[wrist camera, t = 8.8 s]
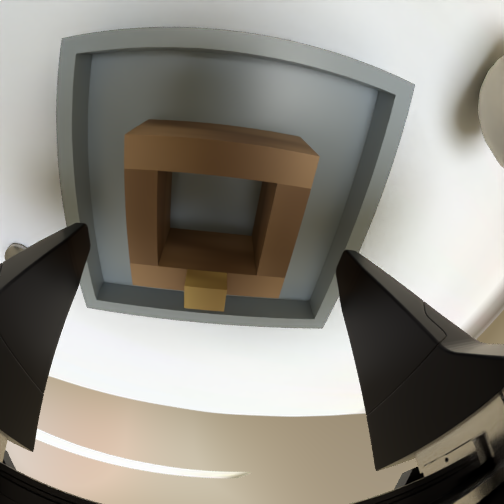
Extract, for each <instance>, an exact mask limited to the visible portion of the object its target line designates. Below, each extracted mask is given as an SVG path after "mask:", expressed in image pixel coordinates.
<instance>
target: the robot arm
mask: <svg viewBox="0 0 504 504" xmlns="http://www.w3.org/2000/svg"><path fill="white" fill-rule="evenodd" d="M90 248H91V243H90V237H89V231H88V226H87V224H86V223H74V224H72V225H70V226H68V227H66V228H64V229H62V230H60V231H58V232H56V233H54V234H52V235H50V236H48V237H47V238H45V239H43V240H41V241H39V242H37V243H35V244H34V245H32V246H30V247H28V248H26V249H25V250H23V251H21V252H19V253H18V254H16V255H14V256H12V257H11V258H9V259H7V260H6V261H4V262H3V263H1V264H0V504H101V503H98V502H94V501H91V500H88V499H84V498H81V497H78V496H75V495H72V494H70V493H67V492H64V491H62V490H59V489H56V488H54V487H51V486H49V485H47V484H44V483H42V482H40V481H37V480H35V479H33V478H31V477H29V476H27V475H25V474H23V473H21V472H19V471H17V470H16V469H15V467H14V465H13V463H12V461H11V459H10V457H9V454H8V452H7V451H6V450H5V448H6V444H7V440H9V441H11V442H13V443H14V444H17V445H19V446H21V447H23V448H25V449H27V450H29V451H32V452H33V450H34V444H35V438H36V431H37V425H38V420H39V415H40V410H41V404H42V400H43V396H44V394H43V393H44V390H45V387H46V382H47V378H48V375H49V371H50V367H51V364H52V360H53V357H54V354H55V350H56V347H57V344H58V341H59V338H60V335H61V332H62V329H63V326H64V323H65V320H66V317H67V315H68V312H69V309H70V307H71V304H72V302H73V299H74V296H75V294H76V291H77V289H78V286H79V283H80V280H81V277H82V274H83V270H84V267H85V264H86V261H87V258H88V255H89V252H90ZM336 279H337V284H338V290H339V296H340V303H341V308H342V312H343V316H344V320H345V324H346V328H347V331H348V335H349V339H350V343H351V347H352V351H353V356H354V360H355V364H356V368H357V373H358V377H359V382H360V386H361V391H362V396H363V401H364V406H365V411H366V415H367V422H368V427H369V433H370V439H371V445H372V451H373V457H374V464H375V469H376V471H379V470H382V469H385V468H388V467H391V466H394V465H397V464H400V463H403V462H405V461H408V460H411V459H414V458H416V461H417V465H418V467H416V468H414V469H411V470H409V471H407V472H404V473H403V474H402V475H401V477H400V479H399V481H398V483H397V485H396V487H395V489H394V490H392V491H389V492H386V493H383V494H380V495H377V496H374V497H371V498H368V499H365V500H361V501H358V502H354V503H351V504H504V344H486V343H482V342H479V341H477V340H476V339H474V338H472V337H471V336H470V335H468V334H467V333H466V332H464V331H463V330H462V329H460V328H459V327H457V326H456V325H455V324H453V323H452V322H451V321H449V320H448V319H447V318H445V317H444V316H442V315H441V314H440V313H438V312H437V311H436V310H435V309H433V308H432V307H431V306H429V305H428V304H427V303H426V302H423V300H422V299H420V298H419V297H418V296H416V295H415V294H414V293H413V292H411V291H410V290H409V289H407V288H406V287H405V286H403V285H402V284H401V283H399V282H398V281H397V280H395V279H394V278H393V277H391V276H390V275H389V274H387V273H386V272H384V271H383V270H382V269H380V268H379V267H378V266H376V265H375V264H373V263H372V262H371V261H369V260H368V259H366V258H365V257H364V256H362V255H361V254H359V253H358V252H356V251H354V250H344V251H343V253H342V255H341V257H340V260H339V262H338V265H337V267H336Z"/></svg>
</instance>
